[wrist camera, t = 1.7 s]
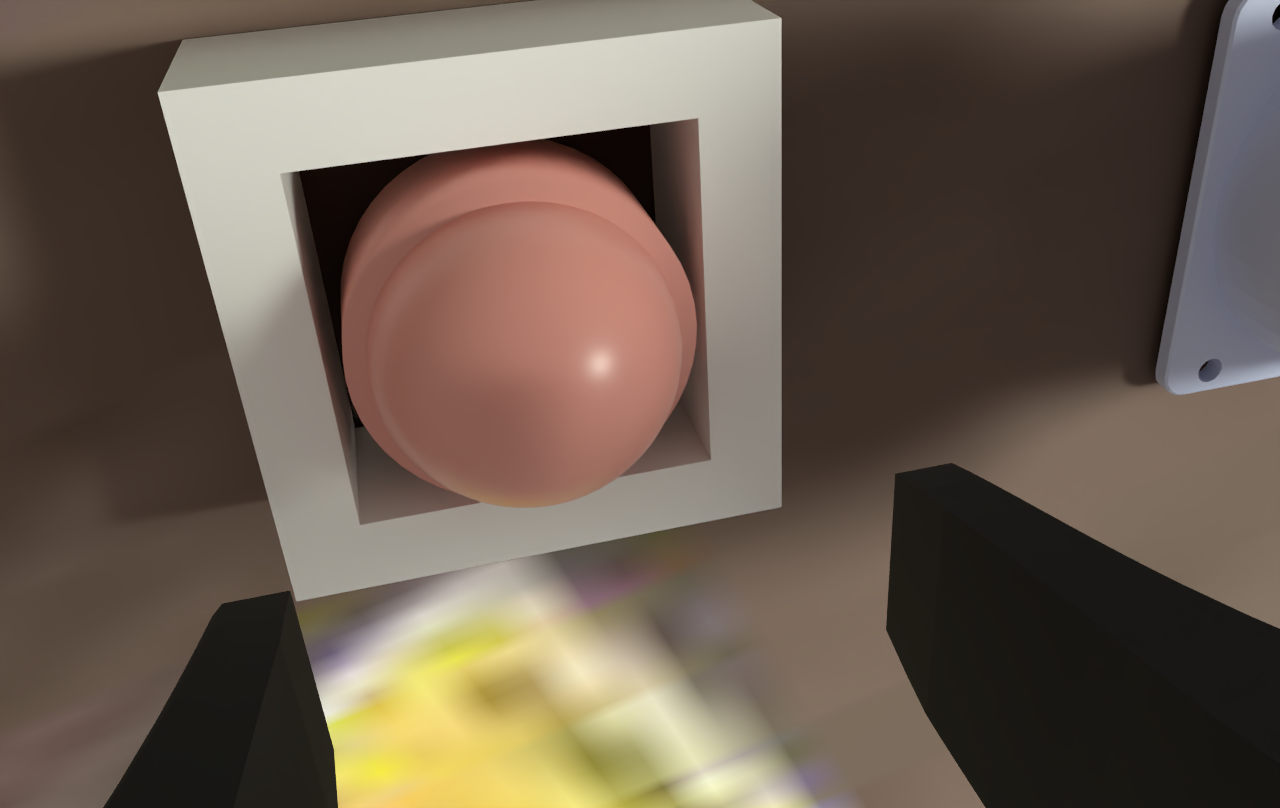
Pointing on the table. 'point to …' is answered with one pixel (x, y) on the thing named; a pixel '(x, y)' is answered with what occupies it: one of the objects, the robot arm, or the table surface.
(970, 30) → the table surface
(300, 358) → the dome housing
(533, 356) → the dome
